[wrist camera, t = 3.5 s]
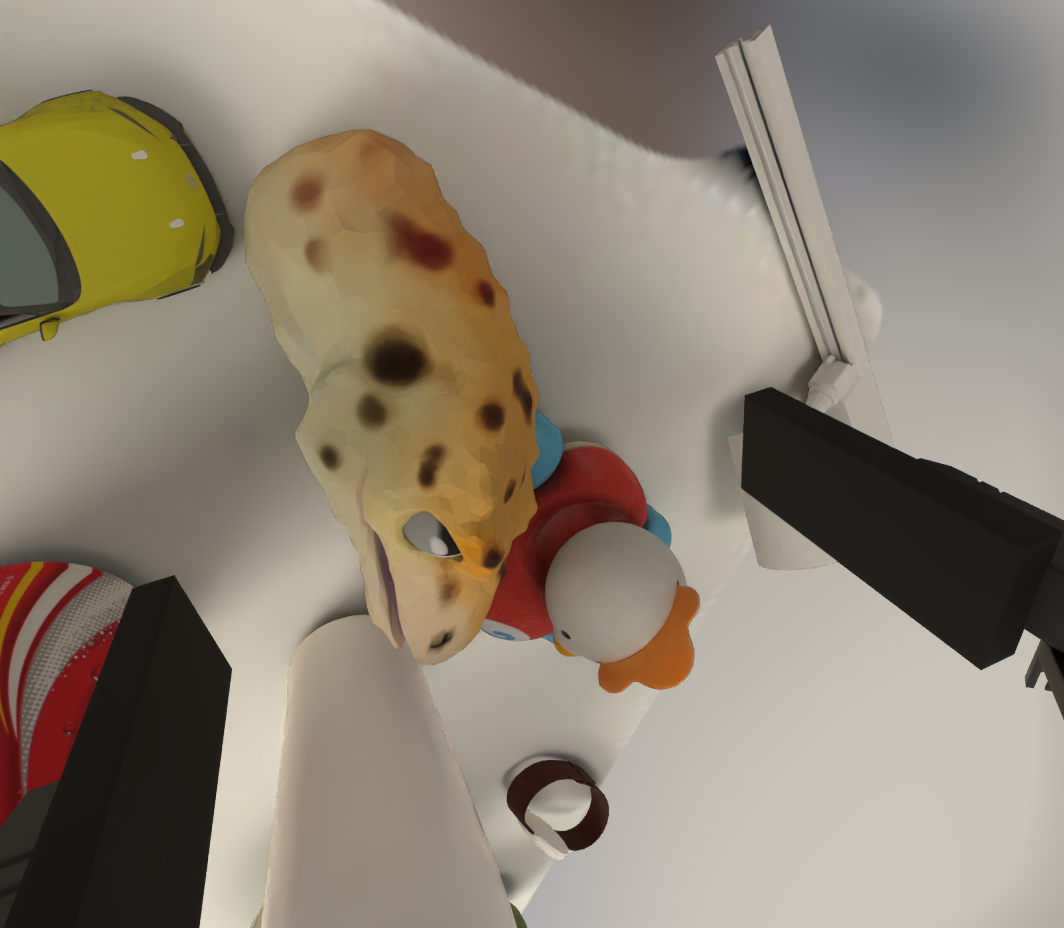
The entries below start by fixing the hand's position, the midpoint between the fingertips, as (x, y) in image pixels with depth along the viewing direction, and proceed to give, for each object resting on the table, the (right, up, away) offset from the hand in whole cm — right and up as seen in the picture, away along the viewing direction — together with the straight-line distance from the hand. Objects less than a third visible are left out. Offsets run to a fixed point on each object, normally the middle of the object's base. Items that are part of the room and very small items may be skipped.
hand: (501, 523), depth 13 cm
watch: (+4, -18, +19) cm, 27 cm away
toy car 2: (+1, -1, +12) cm, 12 cm away
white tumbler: (-7, -7, +12) cm, 16 cm away
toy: (-9, +4, +5) cm, 11 cm away
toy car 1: (-13, +7, +2) cm, 15 cm away
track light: (+9, -2, +11) cm, 14 cm away
